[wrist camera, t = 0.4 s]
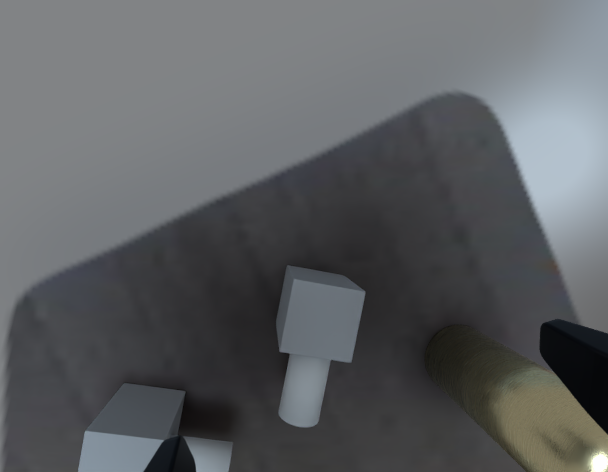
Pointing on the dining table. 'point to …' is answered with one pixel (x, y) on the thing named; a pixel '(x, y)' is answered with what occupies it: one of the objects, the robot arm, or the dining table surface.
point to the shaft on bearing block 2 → (314, 336)
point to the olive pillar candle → (516, 403)
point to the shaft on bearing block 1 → (144, 433)
